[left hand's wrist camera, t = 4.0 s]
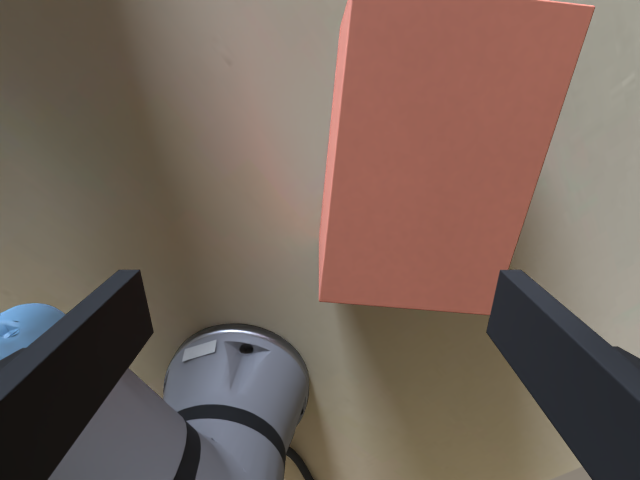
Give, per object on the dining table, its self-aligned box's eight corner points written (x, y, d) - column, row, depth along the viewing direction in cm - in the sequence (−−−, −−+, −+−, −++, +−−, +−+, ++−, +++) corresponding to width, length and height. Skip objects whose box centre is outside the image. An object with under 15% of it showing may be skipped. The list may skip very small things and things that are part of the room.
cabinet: (340, 25, 26) (353, -23, 16) (490, 42, 26) (596, 5, 16) (318, 239, 32) (318, 301, 22) (439, 250, 33) (493, 315, 23)
